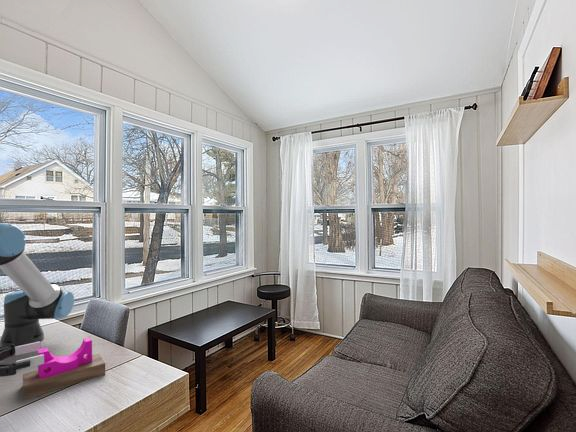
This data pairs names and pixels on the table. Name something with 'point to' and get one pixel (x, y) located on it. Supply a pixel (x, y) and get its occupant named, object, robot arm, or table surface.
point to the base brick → (62, 377)
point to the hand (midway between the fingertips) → (42, 351)
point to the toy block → (64, 360)
